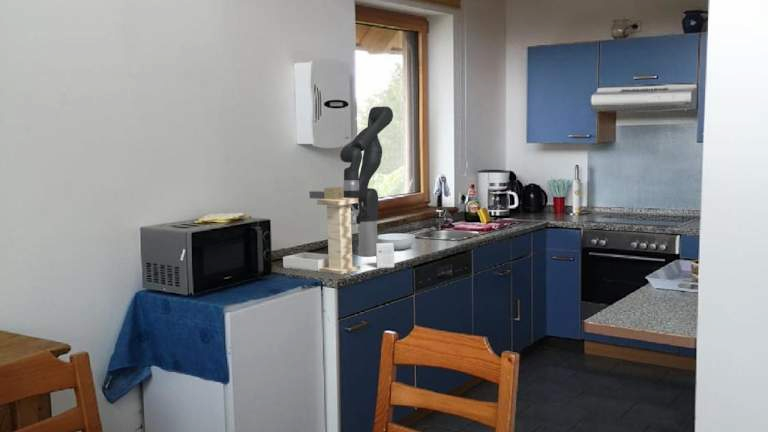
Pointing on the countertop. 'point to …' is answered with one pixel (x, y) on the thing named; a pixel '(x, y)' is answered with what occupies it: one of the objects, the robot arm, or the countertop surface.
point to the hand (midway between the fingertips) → (351, 223)
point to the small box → (385, 255)
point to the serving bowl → (397, 240)
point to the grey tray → (306, 261)
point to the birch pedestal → (339, 235)
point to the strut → (328, 193)
